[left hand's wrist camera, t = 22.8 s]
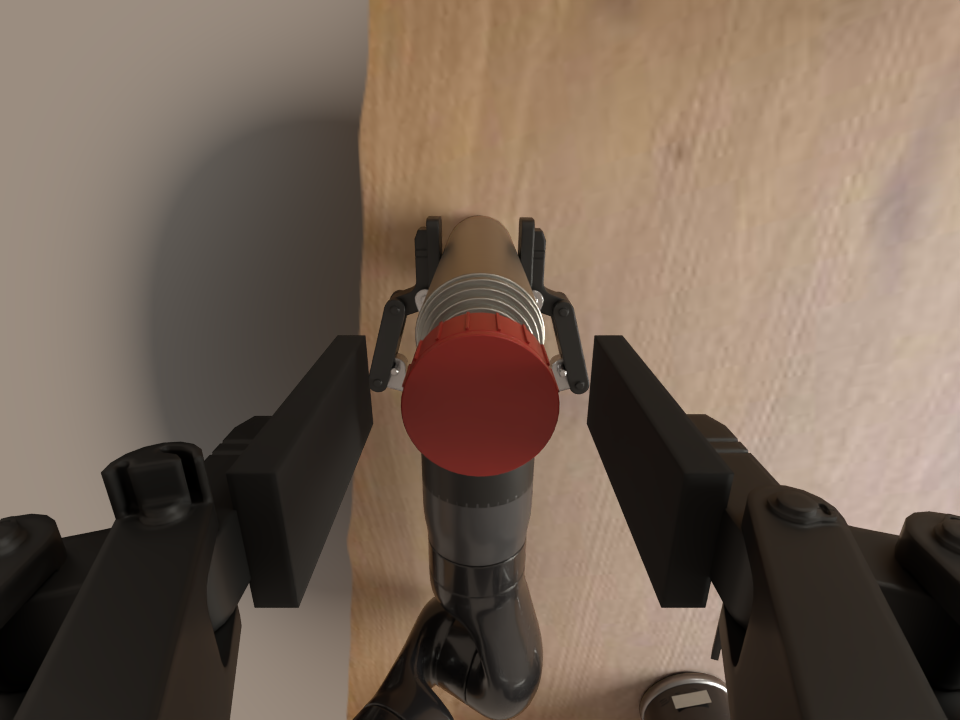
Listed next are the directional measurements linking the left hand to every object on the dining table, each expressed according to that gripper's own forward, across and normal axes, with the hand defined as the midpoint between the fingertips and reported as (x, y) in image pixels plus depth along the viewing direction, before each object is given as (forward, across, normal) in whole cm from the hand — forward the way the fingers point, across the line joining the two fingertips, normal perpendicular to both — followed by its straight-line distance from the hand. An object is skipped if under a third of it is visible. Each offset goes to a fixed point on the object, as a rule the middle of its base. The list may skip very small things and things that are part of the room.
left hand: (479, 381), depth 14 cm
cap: (-1, 0, 0) cm, 1 cm away
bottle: (+23, 0, 0) cm, 23 cm away
